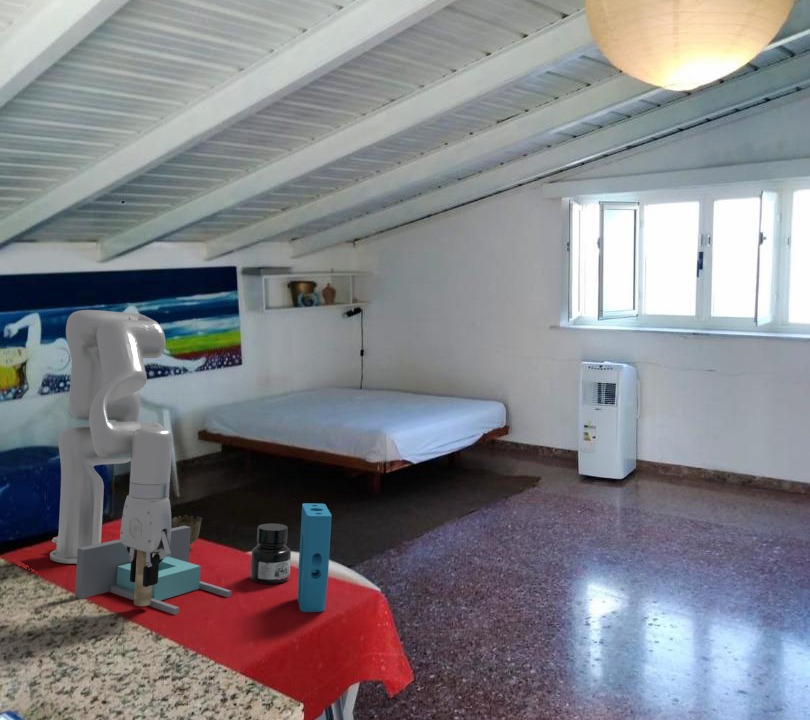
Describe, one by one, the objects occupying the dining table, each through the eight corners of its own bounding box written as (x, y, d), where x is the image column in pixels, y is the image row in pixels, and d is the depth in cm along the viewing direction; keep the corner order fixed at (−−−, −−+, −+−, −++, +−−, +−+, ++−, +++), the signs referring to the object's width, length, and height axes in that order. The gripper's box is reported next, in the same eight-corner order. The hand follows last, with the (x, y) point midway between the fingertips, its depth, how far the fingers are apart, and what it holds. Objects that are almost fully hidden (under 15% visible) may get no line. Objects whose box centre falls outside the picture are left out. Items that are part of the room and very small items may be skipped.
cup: (163, 550, 192) (165, 518, 192) (182, 544, 199) (183, 513, 199) (187, 554, 190) (189, 523, 189) (205, 548, 196) (207, 517, 196)
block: (326, 614, 154) (332, 516, 153) (301, 615, 153) (307, 516, 152) (319, 595, 165) (324, 503, 165) (296, 595, 164) (301, 503, 164)
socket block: (116, 589, 160) (117, 566, 160) (162, 576, 171) (163, 555, 171) (153, 602, 154) (155, 578, 154) (199, 588, 164) (200, 566, 164)
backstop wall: (74, 596, 155) (77, 548, 155) (182, 567, 179) (184, 525, 179) (147, 623, 143) (150, 571, 143) (252, 589, 167) (255, 543, 166)
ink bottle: (261, 587, 168) (264, 533, 168) (241, 577, 175) (244, 525, 174) (298, 580, 174) (301, 528, 174) (277, 570, 181) (280, 520, 181)
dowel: (130, 603, 150) (133, 542, 149) (143, 599, 152) (147, 539, 152) (141, 607, 148) (144, 546, 148) (154, 603, 151) (157, 543, 150)
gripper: (106, 486, 151) (101, 577, 151) (161, 500, 142) (155, 597, 142) (138, 481, 157) (132, 569, 158) (192, 495, 148) (187, 588, 149)
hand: (143, 581), depth 150 cm, fingers closed on dowel, 3 cm apart
